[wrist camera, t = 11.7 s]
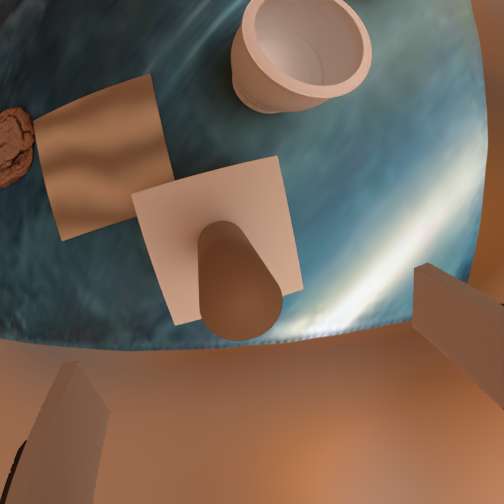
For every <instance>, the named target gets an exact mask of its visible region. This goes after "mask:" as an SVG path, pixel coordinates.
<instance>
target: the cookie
mask: <svg viewBox="0 0 504 504" xmlns="http://www.w3.org/2000/svg"><path fill="white" fill-rule="evenodd" d="M33 143H36V141H35V131H34V126H33V125H32V119H31V114H30V113H27V112H26V111H25V110H24V109H23V108H19V107H15V108H9V109H7V110H5V111H3V112H2V113H1V114H0V188H3V187H6V186H8V185H10V184H11V183H13V182H14V181H17V180H18V179H20V178H21V177H22V176H23V175H25V174H26V173H27V172H28V170H29V168H30V167H31V163H32V161H33V148H32V146H33Z"/></svg>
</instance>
